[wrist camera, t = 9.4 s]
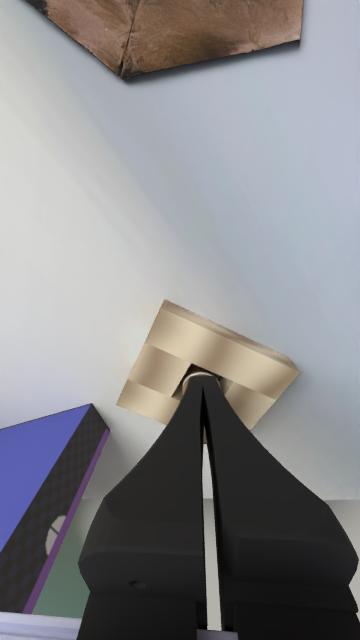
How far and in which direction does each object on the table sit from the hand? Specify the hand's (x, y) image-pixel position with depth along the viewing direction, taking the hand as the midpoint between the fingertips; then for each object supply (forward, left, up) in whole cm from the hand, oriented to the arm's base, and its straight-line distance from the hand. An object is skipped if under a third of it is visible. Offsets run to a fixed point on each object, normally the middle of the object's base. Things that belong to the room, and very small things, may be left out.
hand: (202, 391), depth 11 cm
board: (-3, +5, -10) cm, 12 cm away
